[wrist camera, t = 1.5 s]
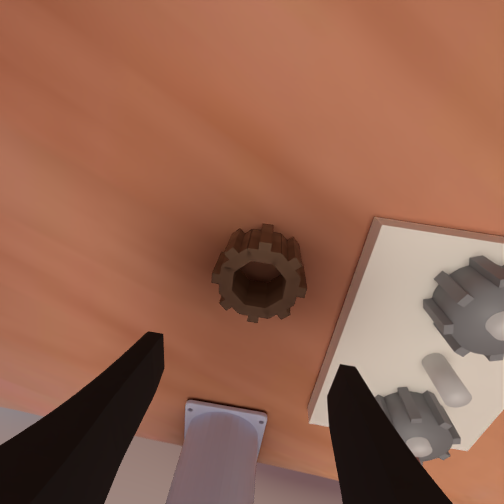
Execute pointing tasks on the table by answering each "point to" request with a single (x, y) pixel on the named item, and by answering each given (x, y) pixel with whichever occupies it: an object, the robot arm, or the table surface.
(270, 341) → the table surface
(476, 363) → the gear board
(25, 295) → the table surface
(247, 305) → the walnut gear
